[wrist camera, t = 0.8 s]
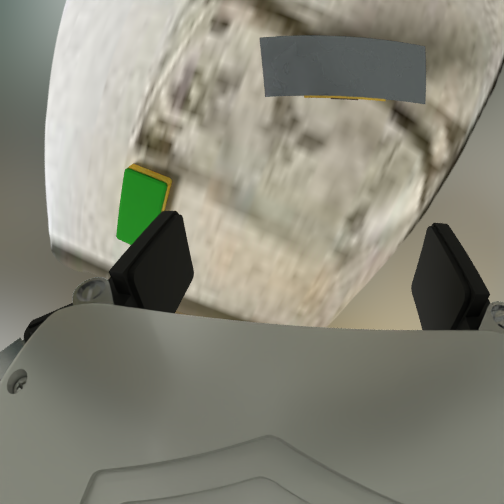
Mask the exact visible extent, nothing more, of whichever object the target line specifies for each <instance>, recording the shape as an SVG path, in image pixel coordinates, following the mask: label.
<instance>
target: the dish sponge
mask: <svg viewBox="0 0 504 504" xmlns="http://www.w3.org/2000/svg"><path fill="white" fill-rule="evenodd" d="M171 183H172V180H171V178H169V177H166V176H164V175H161V174H159V173H156V172H153V171H151V170H148V169H146V168H143V167H141V166H138V165H136V164H132V165H131V166H129V167H128V168H127V169H125V172H124V179H123V185H122V192H121V199H120V207H119V216H118V225H117V235H116V237H117V238H118V239H119V240H122V241H124V242H126V243H128V244H130V245H132V244H133V243H134V241H135V240H136V239H137V238H138V237H139V236H140V235H141V234H142V232H143V231H144V230H145V229H146V228H147V227H148V226H149V225H150V224H151V223H152V221H153V220H154V219H155V218H156V217H157V216H158V215H159V214H160V213H161V212H162V211H165V207H166V203H167V199H168V195H169V191H170V187H171Z"/></svg>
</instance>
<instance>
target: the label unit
mask: <svg viewBox="0 0 504 504" xmlns="http://www.w3.org/2000/svg"><path fill="white" fill-rule="evenodd" d="M260 47H261V56H262V66H263V77H264V87H265V97H270V96H304V98H331V99H347V100H358V99H365V100H378V101H385V99H388V100H398V101H406V102H413V103H420V104H425V97H426V55H425V46H420V45H415V44H409V43H403V42H396V41H389V40H381V39H372V38H361V37H346V36H277V37H263V38H260Z"/></svg>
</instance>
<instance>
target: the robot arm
mask: <svg viewBox="0 0 504 504" xmlns="http://www.w3.org/2000/svg"><path fill="white" fill-rule="evenodd" d="M109 273H110V276H111V277H110V279H109V280H107V279H105V278H102V277H95V278H91V279H88V280H86V281H84V282H83V283H81V284H80V285H79V286H78V287H77V288H76V289H75V291H74V293H73V303H71V304H69V305H67V306H64V307H62V308H60V309H58V310H55V311H53V312H51V313H49V314H46V315H44V316H42V317H39V318H37V319H35V320H33V321H31V323H30V324H29V326H28V327H27V329H26V330H25V333H24V340H22V339H21V338H19V339H17V340H16V341H14V342H13V343H12V344H10V345H9V346H8V347H7V348H5V349H4V350H2V351H1V352H0V504H504V303H503V302H498V301H497V302H492V303H491V304H490V302H489V300H488V297H489V295H490V294H489V291H488V289H487V288H486V286H485V284H484V282H483V280H482V278H481V277H480V275H479V274H478V271H477V270H476V268H475V266H474V265H473V263H472V261H471V260H470V258H469V256H468V255H467V253H466V251H465V250H464V248H463V247H462V245H461V243H460V242H459V240H458V239H457V238H456V236H455V234H454V233H453V231H452V230H451V228H450V227H449V225H447V224H442V223H433V224H432V226H429V227H428V228H427V231H426V235H425V239H424V244H423V248H422V251H421V255H420V258H419V262H418V265H417V269H416V272H415V275H414V279H413V282H412V288H411V289H412V295H413V297H414V301H415V304H416V308H417V311H418V315H419V319H420V322H421V326H422V330H369V329H342V328H323V327H306V326H292V325H278V324H266V323H255V322H244V321H235V320H225V319H216V318H207V317H199V316H191V315H183V314H175V312H176V310H177V308H178V306H179V304H180V302H181V300H182V298H183V296H184V295H185V293H186V291H187V289H188V287H189V285H190V283H191V281H192V279H193V276H194V270H193V265H192V261H191V256H190V251H189V247H188V242H187V237H186V232H185V227H184V222H183V217H182V215H179V214H178V212H177V211H162V212H161V213H160V214H159V215H158V216H157V217H156V218H155V219H154V220H153V221H152V223H151V224H150V225H149V226H148V227H147V228H146V229H145V230H144V231H143V232H142V234H141V235H140V236H139V237H138V238H137V239H136V240H135V241H134V243H133V244H132V245H131V246H130V247H129V248H128V249H127V251H126V252H125V253H124V254H123V255H122V256H121V258H120V259H119V260H118V261H117V262H116V263H115V265H114V266H113V267H112V268H111V269H110V271H109Z"/></svg>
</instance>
